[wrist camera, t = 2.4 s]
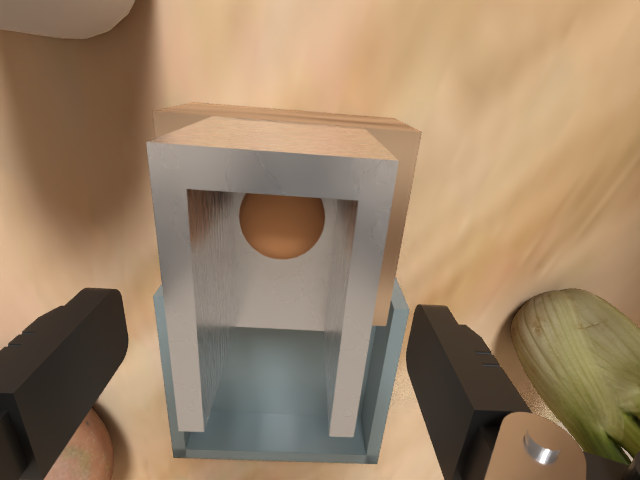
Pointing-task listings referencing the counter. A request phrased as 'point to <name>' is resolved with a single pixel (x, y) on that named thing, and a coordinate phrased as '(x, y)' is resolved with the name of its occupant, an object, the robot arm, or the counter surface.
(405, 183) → the stand
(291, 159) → the chute
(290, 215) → the ball
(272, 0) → the counter surface
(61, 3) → the can
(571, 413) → the fennel bulb
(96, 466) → the ceramic jug
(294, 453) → the tray
